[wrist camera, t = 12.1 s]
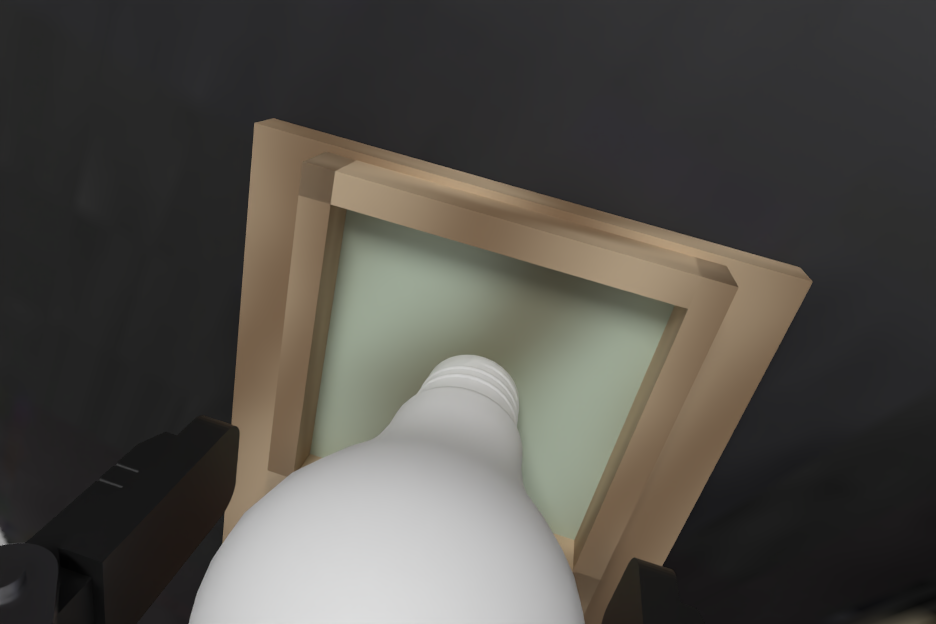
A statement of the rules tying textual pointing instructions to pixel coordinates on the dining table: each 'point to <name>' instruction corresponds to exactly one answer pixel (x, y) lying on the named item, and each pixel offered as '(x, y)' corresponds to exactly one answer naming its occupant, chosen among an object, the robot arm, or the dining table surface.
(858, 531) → the dining table surface
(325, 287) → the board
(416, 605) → the lightbulb
